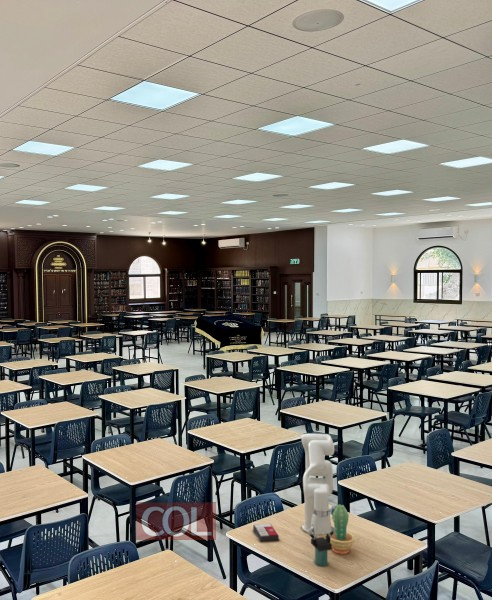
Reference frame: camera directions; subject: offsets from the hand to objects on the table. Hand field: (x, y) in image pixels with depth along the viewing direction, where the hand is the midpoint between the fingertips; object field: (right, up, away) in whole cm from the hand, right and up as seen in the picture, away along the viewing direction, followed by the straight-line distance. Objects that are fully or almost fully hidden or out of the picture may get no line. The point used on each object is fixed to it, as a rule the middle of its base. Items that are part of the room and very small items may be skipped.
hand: (321, 544), depth 295 cm
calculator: (-24, -9, +33) cm, 42 cm away
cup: (0, -10, 0) cm, 10 cm away
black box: (0, -1, 0) cm, 1 cm away
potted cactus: (+15, -10, +15) cm, 23 cm away
